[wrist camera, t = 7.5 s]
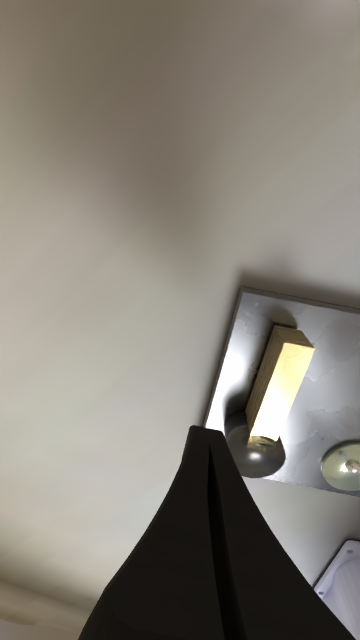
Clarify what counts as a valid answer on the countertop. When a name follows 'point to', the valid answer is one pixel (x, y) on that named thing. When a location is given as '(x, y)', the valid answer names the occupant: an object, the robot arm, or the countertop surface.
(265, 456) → the knob
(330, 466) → the levelling plate
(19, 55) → the countertop surface
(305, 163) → the countertop surface
